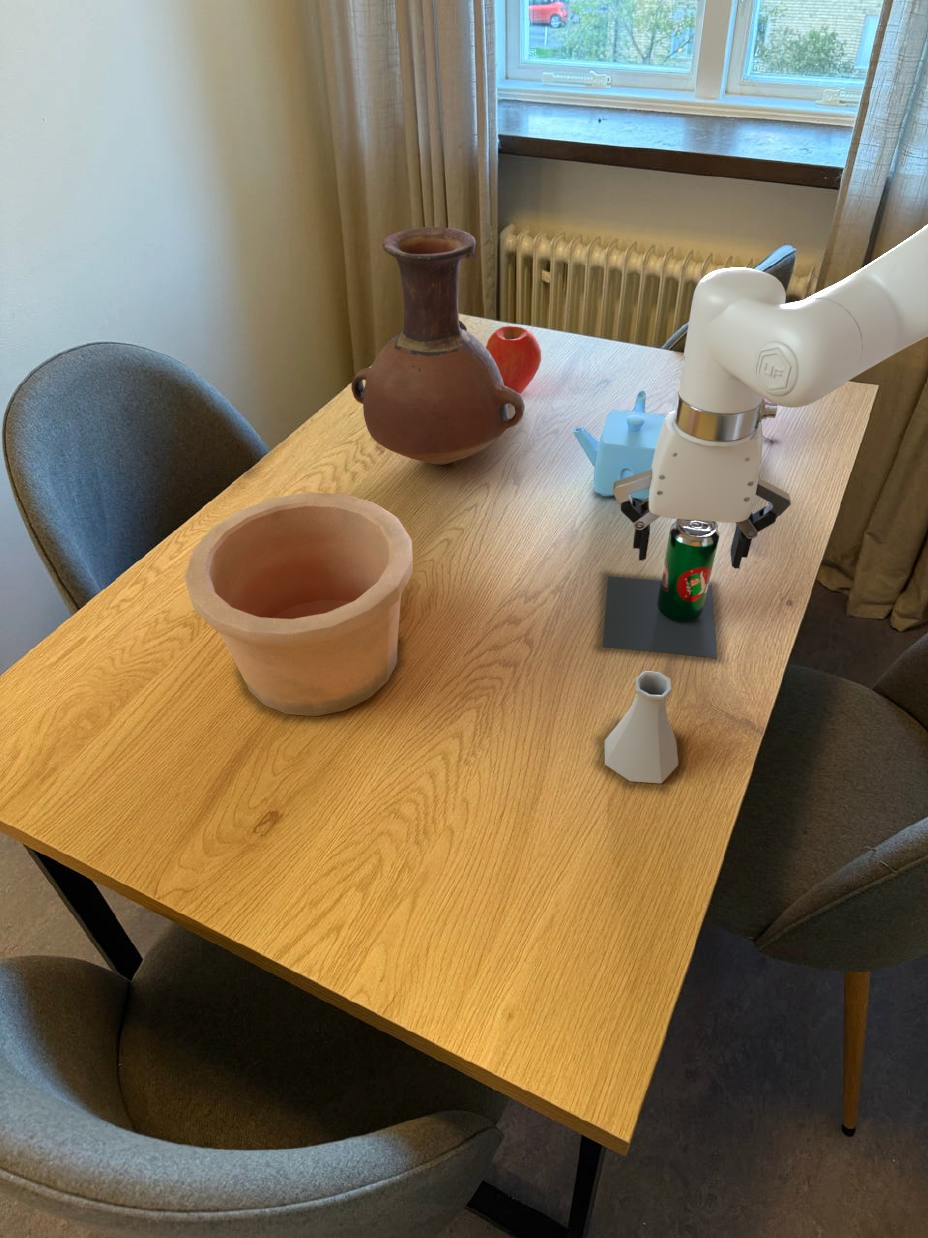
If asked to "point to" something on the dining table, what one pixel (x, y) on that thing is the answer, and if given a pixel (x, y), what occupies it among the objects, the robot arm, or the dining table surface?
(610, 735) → the flask
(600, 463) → the teapot
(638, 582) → the mat
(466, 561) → the dining table surface
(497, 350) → the apple
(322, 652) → the pottery
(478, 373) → the vase
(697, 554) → the soda can
